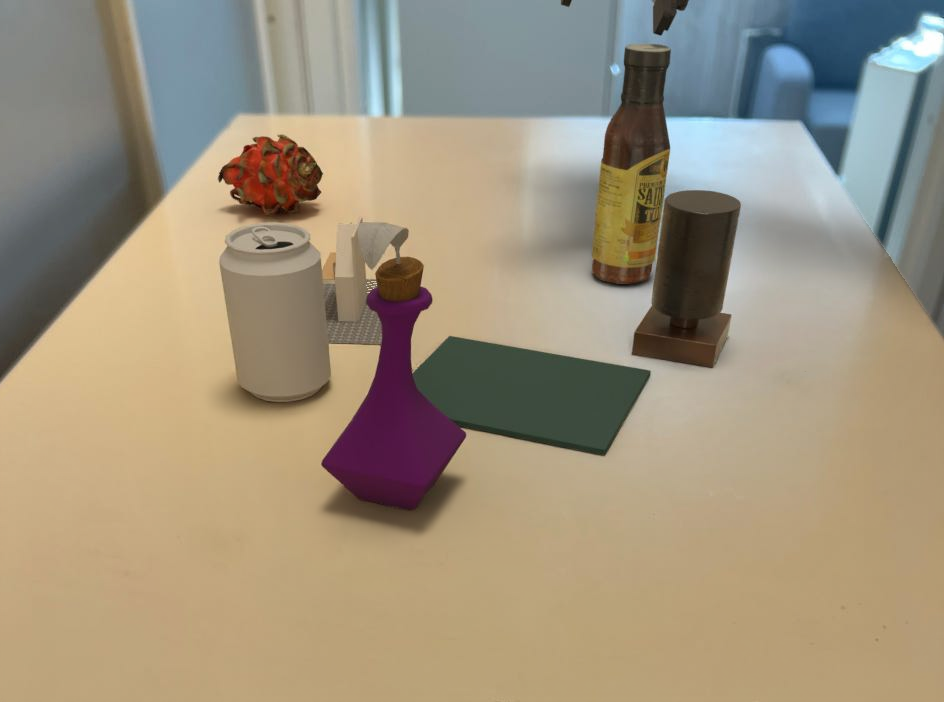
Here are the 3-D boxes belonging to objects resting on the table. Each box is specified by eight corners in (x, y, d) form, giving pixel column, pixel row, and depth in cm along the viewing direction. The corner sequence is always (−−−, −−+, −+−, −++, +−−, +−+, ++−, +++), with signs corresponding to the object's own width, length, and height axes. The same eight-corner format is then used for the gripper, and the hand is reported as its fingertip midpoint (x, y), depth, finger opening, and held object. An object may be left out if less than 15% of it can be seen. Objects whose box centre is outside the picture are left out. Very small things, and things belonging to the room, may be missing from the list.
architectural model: (321, 320, 90) (313, 236, 85) (333, 291, 95) (327, 211, 90) (358, 321, 90) (353, 237, 85) (368, 292, 95) (364, 212, 90)
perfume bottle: (371, 454, 72) (355, 193, 60) (467, 474, 70) (470, 209, 58) (323, 506, 67) (295, 232, 55) (425, 530, 65) (419, 250, 53)
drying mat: (650, 375, 82) (651, 370, 82) (604, 455, 72) (605, 449, 72) (449, 340, 87) (449, 335, 87) (380, 410, 77) (380, 405, 77)
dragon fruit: (333, 229, 113) (234, 240, 115) (335, 165, 115) (238, 177, 117) (309, 178, 105) (203, 192, 107) (312, 111, 107) (208, 125, 109)
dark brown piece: (727, 335, 88) (754, 194, 80) (712, 367, 83) (739, 220, 75) (650, 323, 90) (669, 183, 82) (631, 354, 85) (649, 208, 77)
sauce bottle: (637, 292, 96) (665, 57, 83) (578, 279, 98) (597, 49, 85) (663, 271, 100) (694, 44, 87) (607, 259, 102) (629, 37, 89)
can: (262, 415, 76) (240, 258, 68) (224, 378, 81) (199, 228, 73) (348, 391, 79) (336, 238, 72) (306, 357, 84) (291, 210, 76)
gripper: (558, -183, 85) (552, -57, 79) (708, -130, 88) (713, -5, 82) (530, -95, 92) (523, 27, 86) (671, -49, 95) (673, 72, 89)
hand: (616, 11), depth 84 cm, fingers open, 8 cm apart
